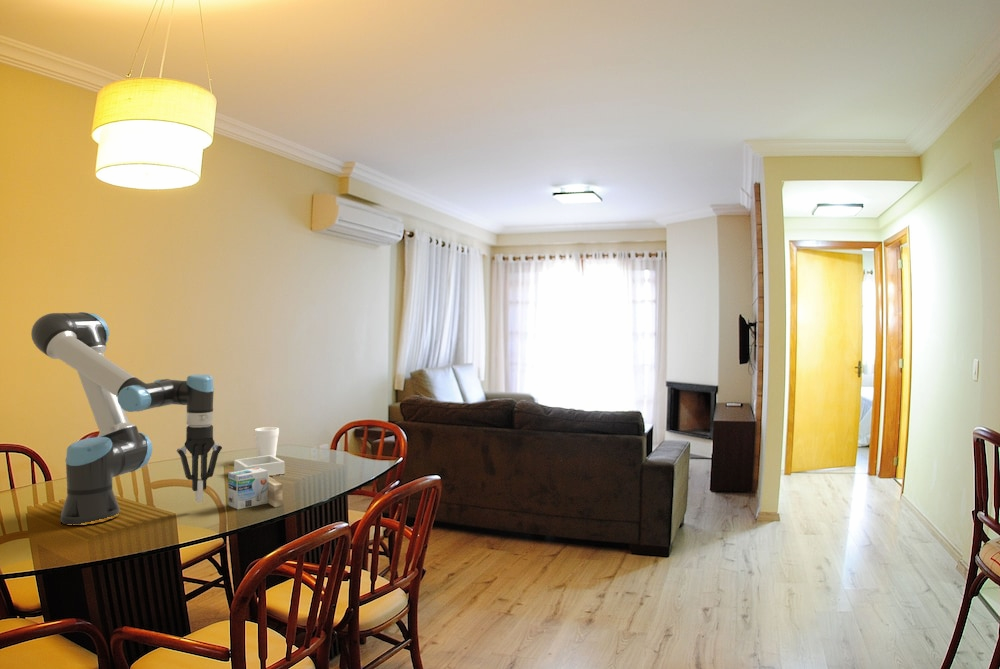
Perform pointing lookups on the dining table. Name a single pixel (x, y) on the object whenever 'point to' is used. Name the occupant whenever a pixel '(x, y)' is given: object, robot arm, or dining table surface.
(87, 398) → the robot arm
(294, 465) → the dining table surface
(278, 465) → the frame
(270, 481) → the board
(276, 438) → the foam cup
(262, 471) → the light bulb box
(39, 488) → the dining table surface
